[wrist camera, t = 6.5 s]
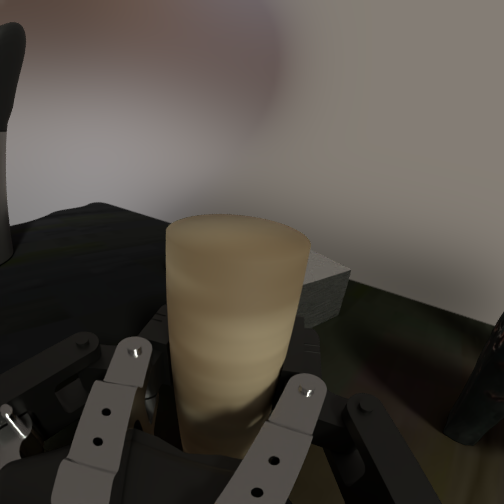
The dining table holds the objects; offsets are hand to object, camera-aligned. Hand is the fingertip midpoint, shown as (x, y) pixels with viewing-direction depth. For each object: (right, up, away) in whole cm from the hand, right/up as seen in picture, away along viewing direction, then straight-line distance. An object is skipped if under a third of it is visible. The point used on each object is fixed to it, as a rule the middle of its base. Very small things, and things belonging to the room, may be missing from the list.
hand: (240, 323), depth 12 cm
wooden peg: (-1, -7, 0) cm, 8 cm away
